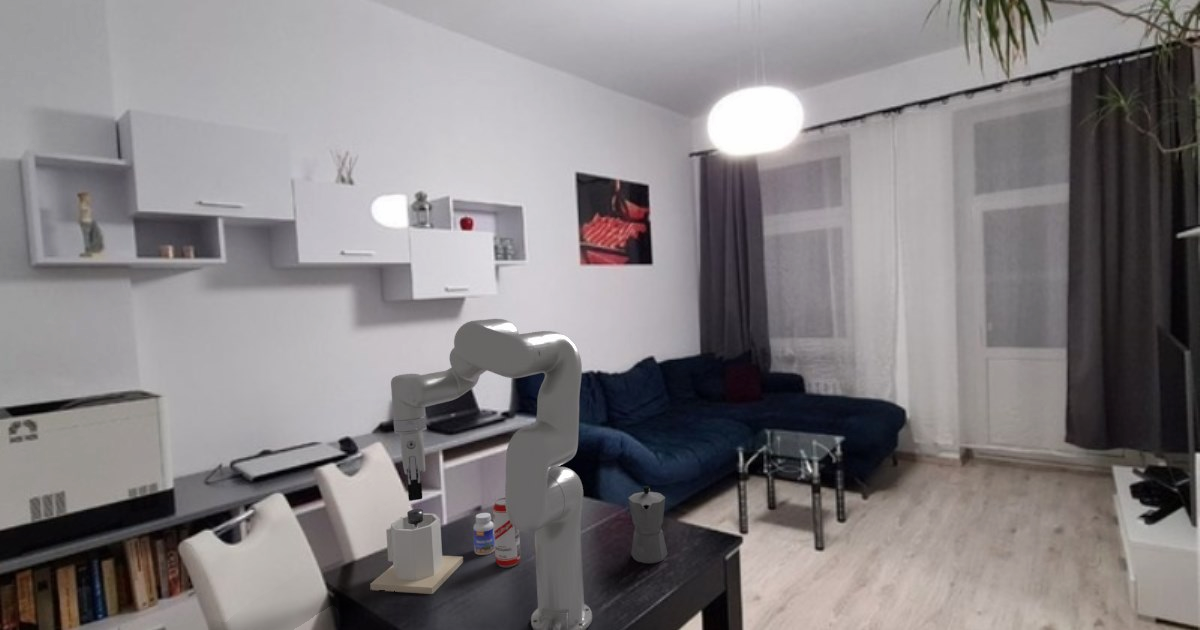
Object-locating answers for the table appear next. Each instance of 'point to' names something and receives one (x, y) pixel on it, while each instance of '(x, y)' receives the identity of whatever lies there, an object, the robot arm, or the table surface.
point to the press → (416, 558)
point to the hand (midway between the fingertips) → (415, 498)
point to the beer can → (505, 537)
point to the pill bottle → (484, 534)
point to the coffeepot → (648, 526)
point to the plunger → (415, 517)
